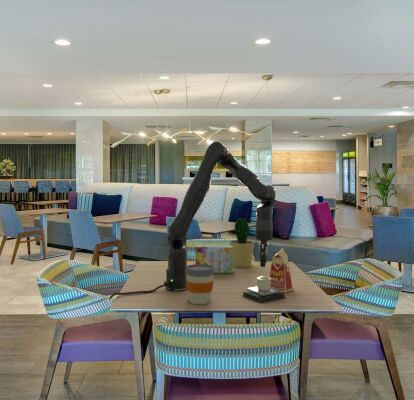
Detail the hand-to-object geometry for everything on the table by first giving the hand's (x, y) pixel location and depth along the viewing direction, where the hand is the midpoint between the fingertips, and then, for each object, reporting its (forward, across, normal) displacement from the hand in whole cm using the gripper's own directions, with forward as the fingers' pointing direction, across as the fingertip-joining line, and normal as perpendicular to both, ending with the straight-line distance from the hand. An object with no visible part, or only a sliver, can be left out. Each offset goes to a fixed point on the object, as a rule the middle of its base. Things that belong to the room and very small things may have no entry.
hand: (263, 264), depth 182 cm
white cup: (+11, 0, 0) cm, 11 cm away
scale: (+15, 0, 0) cm, 15 cm away
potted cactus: (+15, -65, -17) cm, 69 cm away
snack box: (+15, -43, -30) cm, 55 cm away
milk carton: (+15, -14, +7) cm, 22 cm away
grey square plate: (+12, 0, 0) cm, 12 cm away
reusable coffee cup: (+15, +13, -26) cm, 33 cm away
